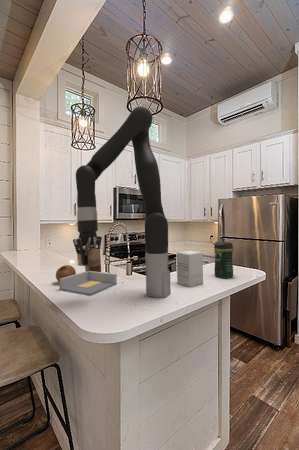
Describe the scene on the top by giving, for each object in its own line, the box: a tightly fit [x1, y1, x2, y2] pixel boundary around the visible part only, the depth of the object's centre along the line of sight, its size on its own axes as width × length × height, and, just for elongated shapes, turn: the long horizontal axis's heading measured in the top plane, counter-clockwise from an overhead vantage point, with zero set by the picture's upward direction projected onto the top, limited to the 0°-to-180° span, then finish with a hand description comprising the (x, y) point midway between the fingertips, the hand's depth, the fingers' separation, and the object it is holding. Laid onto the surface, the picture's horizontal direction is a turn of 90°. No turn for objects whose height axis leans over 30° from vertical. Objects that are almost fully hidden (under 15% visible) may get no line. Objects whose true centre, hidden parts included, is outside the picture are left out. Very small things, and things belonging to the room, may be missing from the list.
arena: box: [59, 271, 118, 296], centre depth 107 cm, size 18×18×5 cm
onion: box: [55, 264, 77, 283], centre depth 116 cm, size 10×9×10 cm
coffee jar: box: [213, 240, 234, 279], centre depth 123 cm, size 10×8×19 cm
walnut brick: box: [76, 248, 102, 267], centre depth 90 cm, size 8×4×6 cm, turn 62°
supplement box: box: [176, 250, 204, 288], centre depth 111 cm, size 9×9×15 cm
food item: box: [84, 264, 102, 272], centre depth 129 cm, size 14×8×10 cm, turn 26°
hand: (89, 263), depth 90 cm, fingers closed on walnut brick, 4 cm apart
